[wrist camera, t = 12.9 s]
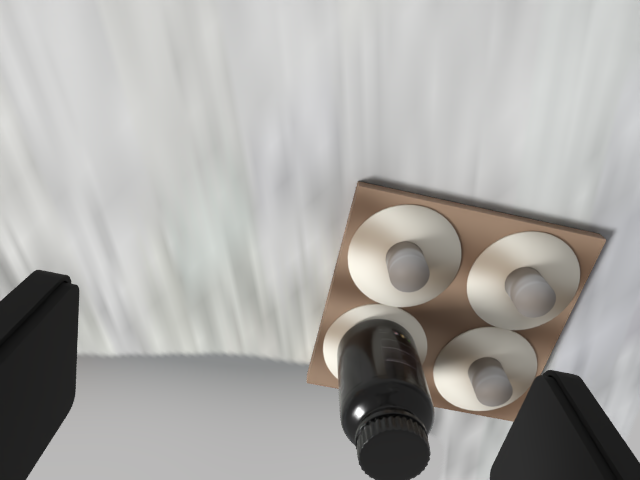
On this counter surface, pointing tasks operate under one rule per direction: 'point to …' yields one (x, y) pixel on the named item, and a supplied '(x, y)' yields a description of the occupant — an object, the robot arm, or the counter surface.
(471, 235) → the board
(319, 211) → the counter surface
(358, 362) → the supplement bottle
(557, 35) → the counter surface
